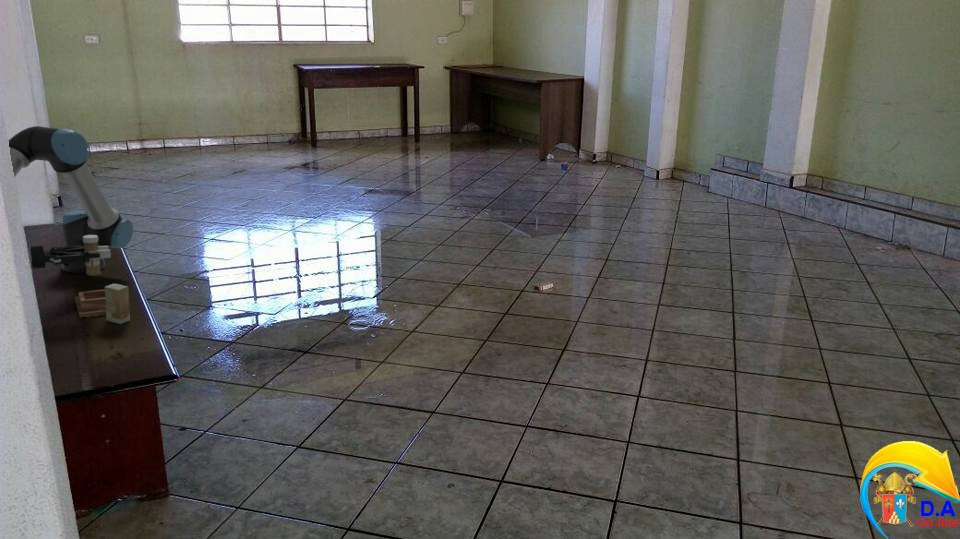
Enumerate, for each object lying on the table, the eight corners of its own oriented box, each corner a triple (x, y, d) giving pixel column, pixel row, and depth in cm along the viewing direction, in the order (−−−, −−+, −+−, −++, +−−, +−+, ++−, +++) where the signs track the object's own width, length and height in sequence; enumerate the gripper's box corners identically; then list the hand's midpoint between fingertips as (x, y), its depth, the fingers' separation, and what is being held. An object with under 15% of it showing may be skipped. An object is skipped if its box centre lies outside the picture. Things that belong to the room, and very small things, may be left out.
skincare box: (106, 320, 247) (103, 286, 243) (116, 316, 251) (113, 282, 247) (121, 324, 245) (118, 289, 241) (131, 320, 249) (128, 286, 245)
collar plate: (75, 300, 262) (73, 288, 261) (112, 296, 268) (111, 285, 267) (79, 318, 247) (78, 305, 246) (119, 313, 254) (118, 301, 252)
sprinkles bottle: (101, 275, 254) (98, 237, 250) (87, 276, 251) (83, 238, 247) (99, 271, 257) (96, 233, 253) (85, 272, 255) (81, 234, 251)
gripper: (30, 261, 250) (107, 255, 263) (32, 276, 237) (113, 269, 249) (28, 239, 248) (105, 234, 261) (30, 253, 234) (112, 247, 247)
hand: (109, 251), depth 255 cm, fingers closed on sprinkles bottle, 4 cm apart
